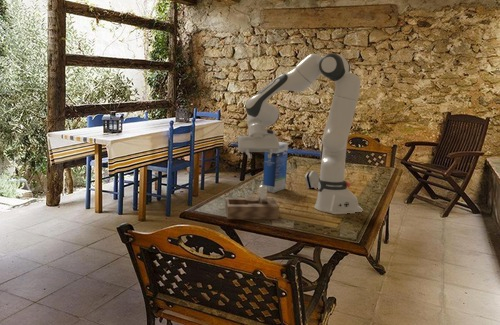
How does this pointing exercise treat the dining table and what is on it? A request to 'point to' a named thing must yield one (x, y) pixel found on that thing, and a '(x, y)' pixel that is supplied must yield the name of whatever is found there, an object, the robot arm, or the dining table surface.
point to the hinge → (312, 179)
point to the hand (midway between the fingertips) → (260, 157)
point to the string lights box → (276, 169)
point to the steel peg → (262, 194)
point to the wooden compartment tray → (251, 208)
